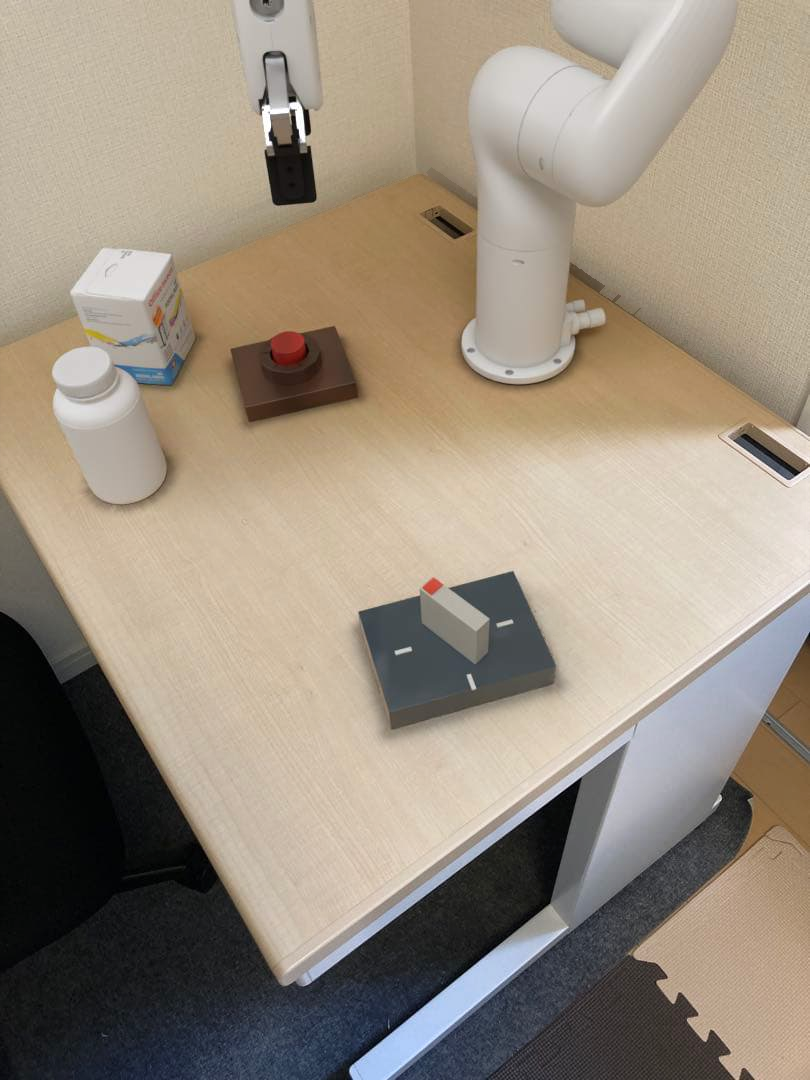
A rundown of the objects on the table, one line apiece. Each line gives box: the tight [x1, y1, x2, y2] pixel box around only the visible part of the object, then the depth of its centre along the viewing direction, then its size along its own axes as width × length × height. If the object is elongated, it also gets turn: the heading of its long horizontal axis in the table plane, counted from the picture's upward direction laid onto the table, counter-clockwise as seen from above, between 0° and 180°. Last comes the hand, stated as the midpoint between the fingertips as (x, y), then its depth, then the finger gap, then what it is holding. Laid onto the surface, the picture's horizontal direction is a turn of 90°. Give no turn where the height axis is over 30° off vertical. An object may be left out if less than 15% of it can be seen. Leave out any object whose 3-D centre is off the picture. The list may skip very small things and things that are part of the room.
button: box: [271, 330, 306, 365], centre depth 97 cm, size 4×4×2 cm
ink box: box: [69, 247, 196, 386], centre depth 99 cm, size 9×8×12 cm
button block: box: [230, 325, 359, 423], centre depth 99 cm, size 12×10×4 cm
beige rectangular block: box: [419, 576, 490, 664], centre depth 73 cm, size 6×2×5 cm, turn 46°
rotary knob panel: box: [357, 570, 557, 731], centre depth 76 cm, size 14×10×3 cm
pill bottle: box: [51, 346, 168, 505], centre depth 87 cm, size 8×8×15 cm
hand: (293, 167), depth 69 cm, fingers open, 9 cm apart
